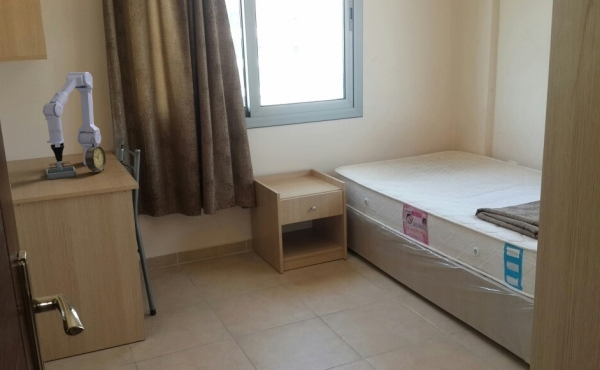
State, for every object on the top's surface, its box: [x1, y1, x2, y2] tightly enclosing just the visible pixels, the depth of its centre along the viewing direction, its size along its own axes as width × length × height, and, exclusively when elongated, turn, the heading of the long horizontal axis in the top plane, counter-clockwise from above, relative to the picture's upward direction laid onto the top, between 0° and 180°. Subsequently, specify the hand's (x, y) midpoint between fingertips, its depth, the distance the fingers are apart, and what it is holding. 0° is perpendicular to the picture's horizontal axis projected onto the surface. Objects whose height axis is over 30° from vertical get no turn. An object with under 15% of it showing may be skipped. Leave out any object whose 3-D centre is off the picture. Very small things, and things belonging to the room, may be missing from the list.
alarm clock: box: [85, 137, 107, 175], centre depth 285 cm, size 11×5×16 cm, turn 168°
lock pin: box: [55, 159, 63, 170], centre depth 281 cm, size 3×3×9 cm
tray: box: [45, 165, 77, 181], centre depth 282 cm, size 11×12×2 cm
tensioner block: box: [48, 160, 71, 169], centre depth 293 cm, size 9×9×3 cm
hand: (59, 160), depth 281 cm, fingers closed on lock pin, 3 cm apart
